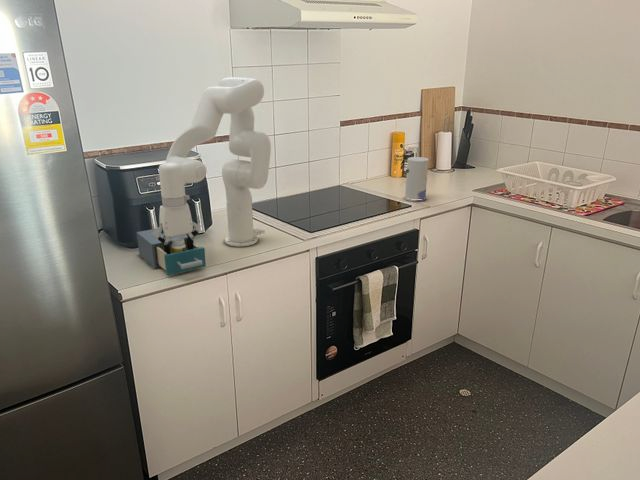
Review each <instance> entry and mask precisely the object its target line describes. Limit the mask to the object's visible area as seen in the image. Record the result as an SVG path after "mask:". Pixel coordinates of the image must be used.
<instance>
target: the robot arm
mask: <svg viewBox="0 0 640 480" xmlns="http://www.w3.org/2000/svg"><path fill="white" fill-rule="evenodd" d="M218 84H219V85H217V86H209V87H207V88H206V89H204V91H203V92H202V95H201V97H200V101H199V103H198V106H197V108H196V111H195V113H194V116H193V118H192V122H191V124H190V126H189V127H187V129H185V130H184V131H183V132H182V133H181V134H180V135H179V136H177V138H176V139H175V140H174V141H173V143H172V144H171V146H170V148H169V150H168V153H167V155H166V159H165V161H164V162H163V163H161V164H160V165H159V166H158V178H159V186H160V195H161V203H162V205H160V206H159V216H158V217H159V218H158V220H159V221H158V223H159V226H158V227H157V228H156V229H157V230H156V231H155V232H154V233H153V236H154V237H156V238H157V239H158V240H159V241H160V242H162V243H163V248H164V251H165V252H166V253H167V254H171V252H170V245H169V244H168V242H169V239H170V237H173V236H178V235H183V234H186V235H187V236H188V238H187V249H189V250H191V249H193V247H194V245H193V240H195V237H196V236H197V234H198V232H199V231H200V229H201V227H202V226H201V225H199V224H198V223H196V222H195V221H193V218H192V214H191V213H192V212H191V210H190V206H189V203H188V201H189V200H190V199H191V198H190V195H187V194H186V187H185V185H186V184H196V183H199V182H201V181H203V180H204V179H205V177H206V176H207V167H206V165H205V164H204V162H203V161H201V160H199V159H196V158H188V157H187V156H188V154H189V153H190V152H191V150H192V149H194V148H195V147H197V146H199V145H201V144H203V143H206V142H208V141H210V140H212V139H213V138H215V137H216V136H217V133H218V130H219V127H220V125H221V121H222V119H223V116H224V114H228V115H230V124H229V125H230V126H229V134H228V135H229V137H228V149H229V152H230V153H231V154H233V155H235V156H238V157H243V158H250V160H244V159H234V158H233V159H229V160H227V161H226V162H225V163H224V164H223V165H222V169H221V177H222V181H223V185H224V190H225V198H226V214H227V216H226V217H227V230H228V231H227V232H228V236H226V237H225V239H224V243H225V244H226V245H228V246H231V247H237V248H240V247H249V246H253V245H255V244H256V243H258V241H259V238H258V237H257V236H258V235H263V234H265V233H266V230H265V229H264V228H258V227H257V228H254V212H253V196H252V192H251V190H250V189H252V190H253V189H254V190H259V189H262V188H264V187H265V186H266V184H267V182H268V179H269V169H270V161H271V153H272V152H271V151H272V144H271V140H270V138H269V136H268V135H267V134H266V133H265V132H263V131H259V130H255V112H254V110H253V107H255V106H257V105H258V104H259V103H261V101H262V100H263V98H264V95H265V88H264V84H263V83H262V81H260V80H259V79H257V78H252V77H250V78H249V77H237V76H236V77H234V76H231V77H230V76H228V77H225V78H222V79H221V80H220V81H219V83H218ZM160 233H162V234H164V235H163V238H161V237H160V236H159V234H160Z"/></svg>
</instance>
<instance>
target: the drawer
mask: <svg viewBox="0 0 640 480" xmlns="http://www.w3.org/2000/svg"><path fill="white" fill-rule="evenodd" d="M184 244H185V245H186V251H181V252H176V253H172V245H173V244H172V243H170V244H169V245H170V252H171V254H167V253H166V252H165V251H164V248H163V245H160V246H155V253H156V262H157V264H159V265H160V266H161V269H163V270H164V271H165V275H166V276H167V277H168V276H172V275H173V276H174V275H177V274H180V273H186V272H189V271H190V272H191V271H193V270H198V269H203V268H206V267H207V264H206V254H205V253H206V252H205V251H206V249H205V247H204V246H201V247H199V246H198V245H197V244H196V243H195V242H194V243H193V245H194V247H193V249H191V250H189V249H187V240H185V243H184Z"/></svg>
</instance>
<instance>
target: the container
mask: <svg viewBox="0 0 640 480" xmlns="http://www.w3.org/2000/svg"><path fill="white" fill-rule="evenodd" d="M406 160H407V161H406V162H407V164H406V177H405V190H404V191H405V192H404V195H405V196H404V199H405V200H406V201H409V202H416V203H417V202H424V201H426V198H427V185H428V184H427V183H428V171H429V162H430V161H429V160H430V159H429V158H427V157H422V156H411V157H408V158H407V159H406ZM405 197H406V198H405ZM425 197H426V198H425ZM407 198H409V199H407ZM424 198H425V199H424ZM411 199H422V200H411Z"/></svg>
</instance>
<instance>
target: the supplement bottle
mask: <svg viewBox="0 0 640 480" xmlns="http://www.w3.org/2000/svg"><path fill="white" fill-rule="evenodd" d="M184 243H185V241H184V239H183V238H175V239H173V240H172V244H173V245H172V253H176V252H181V251H186V245H185V244H184Z"/></svg>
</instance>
